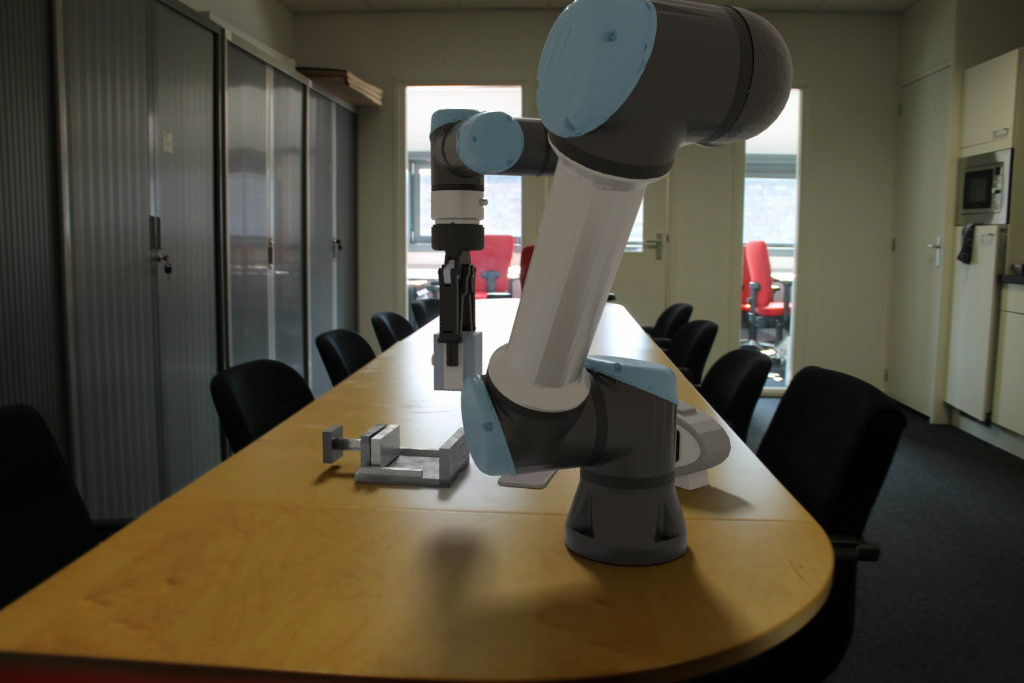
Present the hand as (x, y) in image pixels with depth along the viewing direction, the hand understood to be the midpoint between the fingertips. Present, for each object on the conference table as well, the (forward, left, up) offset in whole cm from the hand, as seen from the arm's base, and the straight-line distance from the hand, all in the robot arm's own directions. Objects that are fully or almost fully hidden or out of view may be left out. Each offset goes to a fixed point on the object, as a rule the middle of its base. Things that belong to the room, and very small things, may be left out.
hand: (458, 385), depth 120 cm
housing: (0, 0, 0) cm, 0 cm away
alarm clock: (+16, -29, -17) cm, 37 cm away
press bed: (+10, +10, -16) cm, 22 cm away
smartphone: (+13, -9, -17) cm, 23 cm away
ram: (+10, +19, -15) cm, 26 cm away
